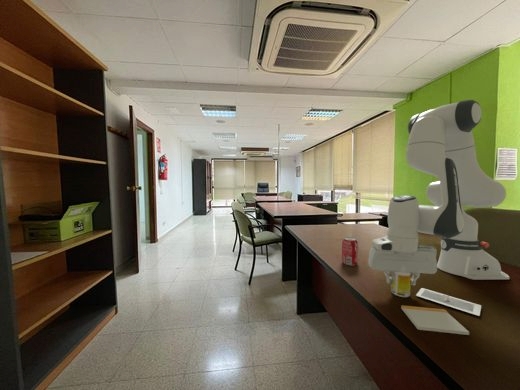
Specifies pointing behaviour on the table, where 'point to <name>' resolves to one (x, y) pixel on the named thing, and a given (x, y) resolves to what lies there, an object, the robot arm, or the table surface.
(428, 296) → the touchpad
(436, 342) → the table surface
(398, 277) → the supplement bottle
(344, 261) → the soda can
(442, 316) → the notepad
